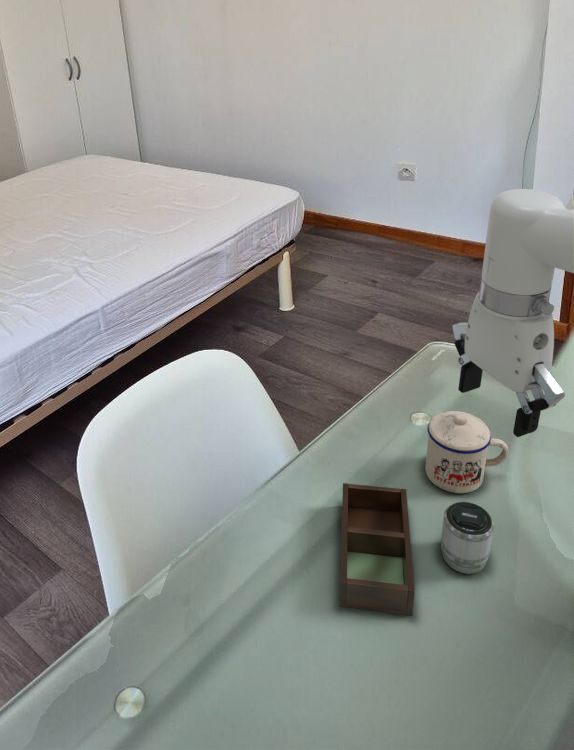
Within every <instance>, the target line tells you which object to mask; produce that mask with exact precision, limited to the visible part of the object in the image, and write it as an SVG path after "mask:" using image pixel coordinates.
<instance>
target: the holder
mask: <svg viewBox="0 0 574 750" xmlns="http://www.w3.org/2000/svg"><path fill="white" fill-rule="evenodd" d="M341 499H342V501H341V502H342V503H341V540H340V541H341V543H340V544H341V545H340V577H339V578H340V579H339V580H340V582H339V583H340V584H339V606H340V607H344V608H352V609H360V610H368V611H375V612H381V613H382V612H383V613H390V614H399V615H406V616H413V615H414V604H415V593H416V589H415V588H416V587H415V576H414V565H413V552H412V541H411V531H410V518H409V505H408V493H407V488H399V487H388V486H379V485H378V486H377V485H366V484H357V483H346V482H343V483H342V497H341Z"/></svg>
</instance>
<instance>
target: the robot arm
mask: <svg viewBox="0 0 574 750" xmlns="http://www.w3.org/2000/svg"><path fill="white" fill-rule="evenodd" d="M555 269H558V270H561V271H565V272H568V273H572V274H574V194H572V196H571V197H570V198H569V200H568V201H567V203H566V205H564V203H563V202H562V200H561V199H560V198H558V197H557V196H556V195H554V194H553V193H550V192H547V191H544V190H541V189H532V188H514V189H508V190H504V191H502V192H500V193H498V194H497V195H496V196H495V197H494V198H493V200H492V202H491V203H490V209H489V215H488V223H487V231H486V238H485V246H484V253H483V262H482V268H481V276H480V283H479V291H478V292H476V295H475V297H474V300H473V303H472V306H471V309H470V312H469V315H468V320H467V322H458V323H455V324H454V323H453V325H452V326H451V327H452V332H453V333H452V334H453V337H454V339H455V341H454V347H455V349H456V351H457V354H458V355H459V356H458V357H457V362H458V363H459V365H460V373H459V381H458V388H457V389H458V392H460V393H461V394H464V393H468V392H471V391H474V390H477V389H479V388H480V387H481V385H482V380H483V379H482V378H483V372H485V373H486V374H488V375H489V376H491V377H492V378H493V379H494V380H496V381H497V382H498V383H500V384H502V385H503V386H504V387H506V388H507V389H509V390H510V391H512V392H515V395H516V397H517V400H518V402H519V404H520V407H519V408H517V409H516V411H515V412H516V413H515V418H514V424H513V425H514V426H513V430H512V433H513V436H515V437H516V438H520V437H523V436H526V435H528V434H532V433H534V432H536V431H537V429H538V428H539V424H540V423H539V422H540V418H541V417H540V416H541V412H542V411H544V410H547V409H548V410H549V409H550V408H553V407H555V406H556V405H557V404H558V403H559V402H560V401H562V400H563V399H564V398H565V396H566V395H565V391H564V390H563V388H562V387H561V386H560V385H559V383H558V382H557V381H556V379H555V378H554V377H553V376H552V375H551V374H552V367H553V360H554V359H553V358H554V349H555V327H554V317H553V316H554V315H553V312H554V310H555V305H554V304H552V303H550V297H551V292H552V286H553V281H554V275H555ZM529 390H530V391H531V393H532V396H533V400H530V397H529V394H528V393H527V391H529Z"/></svg>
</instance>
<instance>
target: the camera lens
mask: <svg viewBox="0 0 574 750" xmlns="http://www.w3.org/2000/svg"><path fill="white" fill-rule="evenodd" d="M494 528H495V523H494V520H493V518H492V516H491V514H490V513H489V512H488V511H487V510H486V509H485V508H484V507H482V506H480V505H478V504H477V503H473V502H468V501H458V502H454V503H452V504H450V505H449V506H447V507H446V509H445V510H444V512H443V520H442V528H441V537H440V550H441V555H442V558H443V560H444V562H445V563H446V564H447V565H448V567H450V568H451V569H453V570H455V571H456V572H458V573H462V574H466V575H470V574H477V573H479V572H481V571H482V570H483V569H484V568H485V566H486V564H487V563H488V560H489V557H490V553H491V547H492V541H493V536H494Z"/></svg>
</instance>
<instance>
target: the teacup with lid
mask: <svg viewBox="0 0 574 750" xmlns="http://www.w3.org/2000/svg"><path fill="white" fill-rule="evenodd" d="M427 434H428V436H427V447H426V458H425V475H426V476H427V478H428V479H429V480H430V482H431V483H433V485H435V486H436V487H438V488H439V489H441V490H444V491H446V492H449V493H453V494H467V493H471V492H474V491H475V490H477V489H479V488H480V487H481V485H482V484H483V482H484V476H485V472H486V471H485V469H486V467H487V468H488V467H496V466H499V465H501V464H502V463H504V462H505V461H506V459H507V458H508V456H509V447H508V444H507V443H506V442H505V441H503V440H501V439H499V438H492V434H491V432H490V429H489V428H488V426H487V424H486V423H485V422H484V421H483V420H481V419H480V418H479V417H477V416H475V415H474V414H471V413H468V412H464V411H458V410H447V411H442V412H439V413H437V414H435V415H434V416H433V417H432V418H431V419H430V420H429V422H428V424H427ZM491 446H492V447H493V446H494V447H499V448H501V449H502V450H501V452H500V453H499V455H497V456H496V457H494V458H487V456H488V450H489V447H491Z"/></svg>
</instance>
